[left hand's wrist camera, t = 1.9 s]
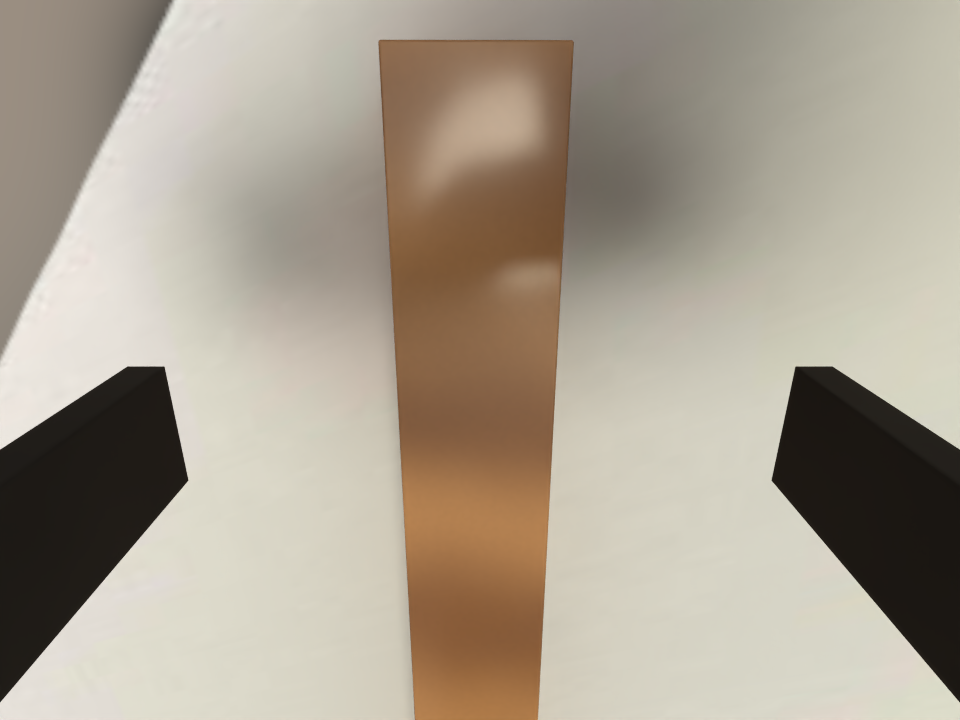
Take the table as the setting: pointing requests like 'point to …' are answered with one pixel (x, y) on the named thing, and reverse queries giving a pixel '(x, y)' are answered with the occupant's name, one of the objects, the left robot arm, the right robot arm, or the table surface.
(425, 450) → the beam
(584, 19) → the table surface
